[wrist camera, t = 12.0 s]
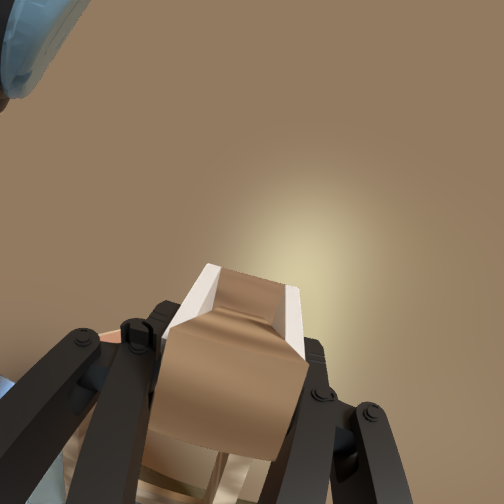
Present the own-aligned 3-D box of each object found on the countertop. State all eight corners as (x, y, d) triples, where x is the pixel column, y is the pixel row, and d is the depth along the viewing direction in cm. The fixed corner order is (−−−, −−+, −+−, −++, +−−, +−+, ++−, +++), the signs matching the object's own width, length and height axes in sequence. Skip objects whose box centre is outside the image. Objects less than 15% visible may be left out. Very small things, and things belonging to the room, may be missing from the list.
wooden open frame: (71, 528, 15) (69, 340, 20) (106, 484, 29) (127, 327, 34) (201, 575, 15) (269, 410, 20) (209, 519, 29) (259, 368, 34)
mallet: (317, 466, 6) (381, 260, 7) (106, 411, 6) (158, 199, 7) (261, 341, 30) (276, 288, 31) (208, 326, 30) (222, 273, 31)
